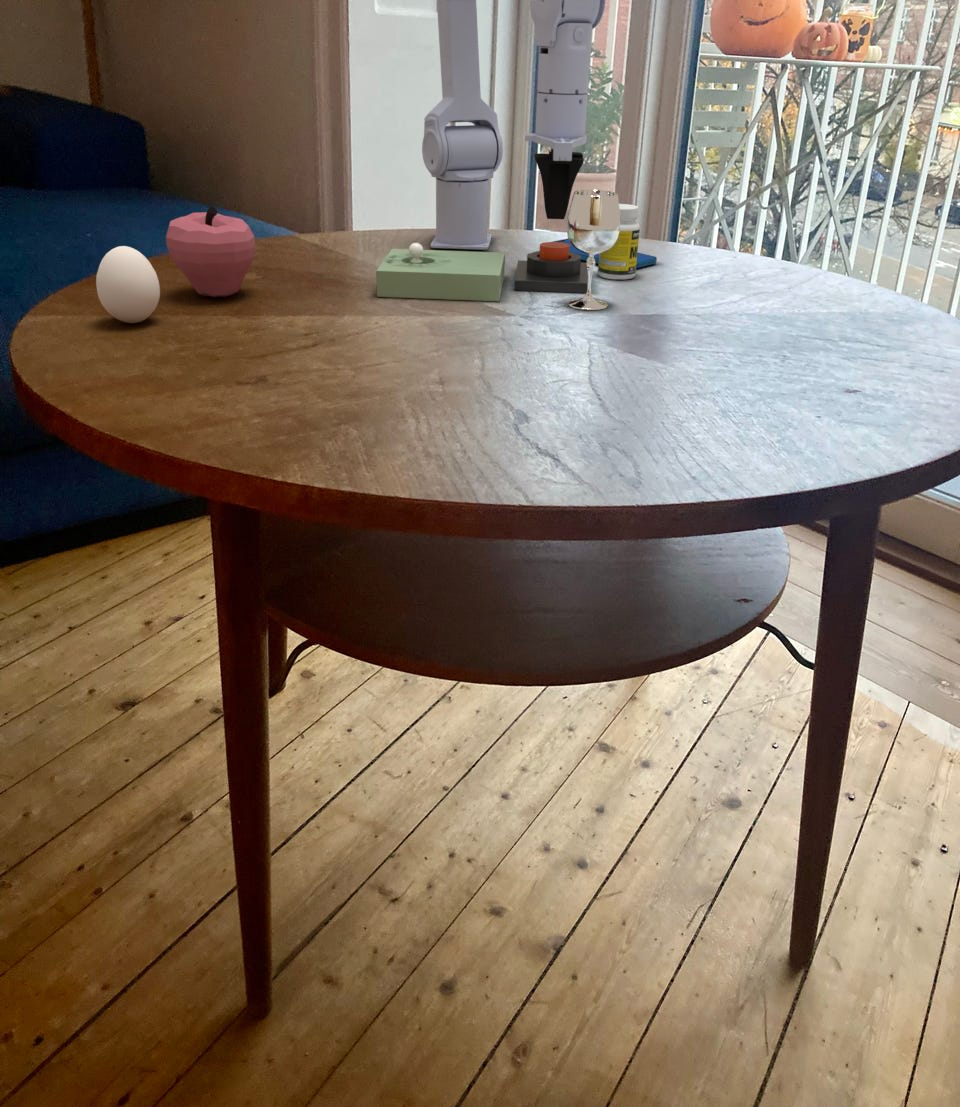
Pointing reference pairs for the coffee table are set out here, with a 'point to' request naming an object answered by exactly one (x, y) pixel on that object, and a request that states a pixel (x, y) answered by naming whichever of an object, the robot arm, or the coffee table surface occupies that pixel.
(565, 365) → the coffee table surface
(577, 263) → the panel
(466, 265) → the pod holder
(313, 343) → the coffee table surface
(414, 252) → the chess pawn
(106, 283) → the egg
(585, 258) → the smartphone
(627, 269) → the supplement bottle
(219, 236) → the apple
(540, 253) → the button
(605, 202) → the wineglass
